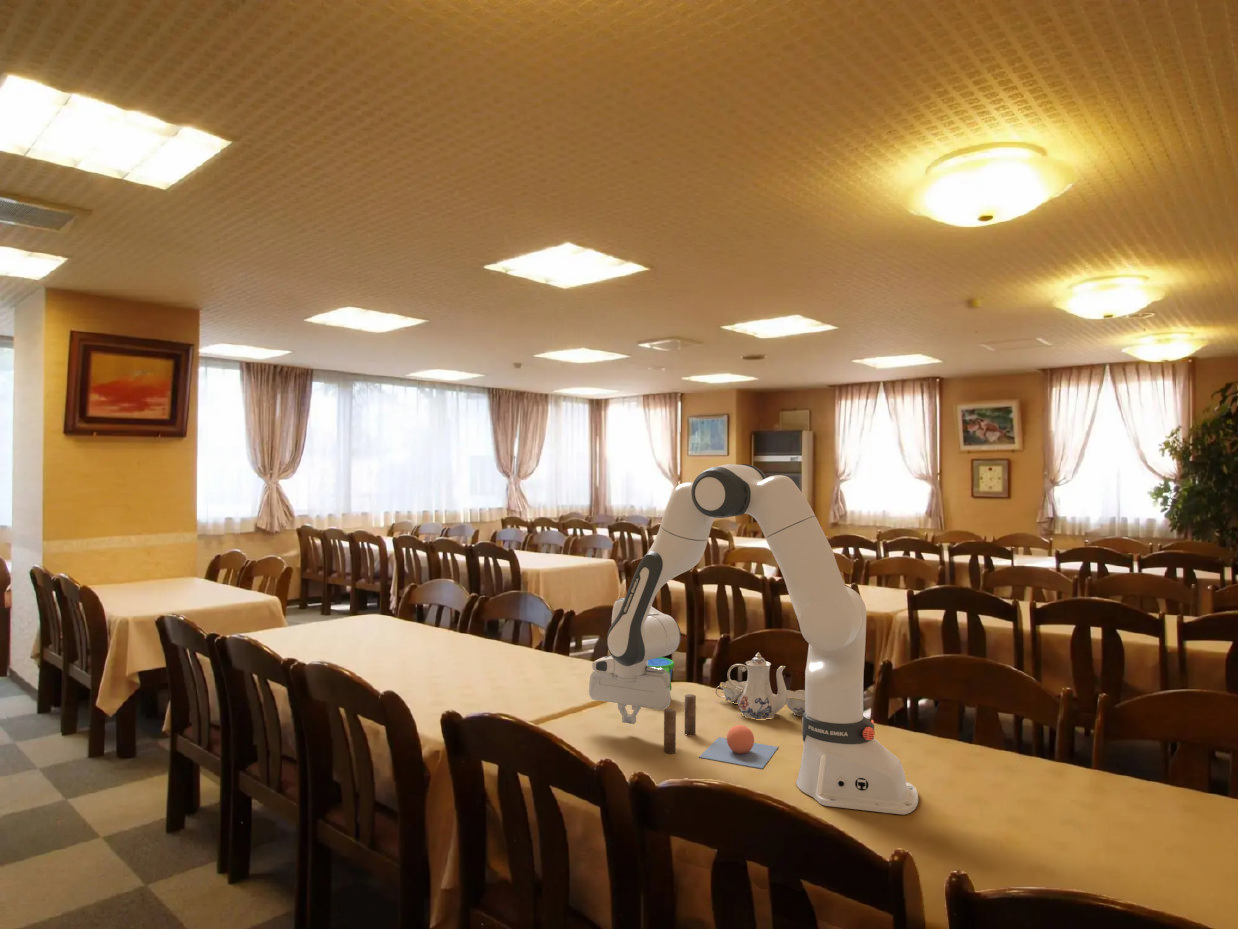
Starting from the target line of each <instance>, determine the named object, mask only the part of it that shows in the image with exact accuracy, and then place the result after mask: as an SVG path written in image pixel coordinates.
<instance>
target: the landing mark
mask: <svg viewBox="0 0 1238 929" xmlns="http://www.w3.org/2000/svg"><path fill="white" fill-rule="evenodd" d="M777 748H778V749H779V746H776V745H769V744H763V743H759V742H758V743H757V742H754V745H753V747H752V749H751V750H750V751H749V752H747V753H744V754H738V753H735V752H734V751H732V750H731V749H730V747H729V746H728V743H727V737H719V736H718V737H717V738H716V739H715V740H714V741H713V742H712V743H711V744H710V745H709V746H708V747H707V748H706V749H705V750H704V751H703V752H702V753H701V754H700V755H699V756H698V758H699V759H703V760H704V759H705V760H710V761H714V762H721V763H726V764H731V765H738V766H743V767H748V768H754V769H760V770H763V769H764V768H765V767H766V765H767V764H768V762H769V761H770V760H771V758H772V757H773V755H774V754H775V753H776V751H777V750H778V749H777Z"/></svg>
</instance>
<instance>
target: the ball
mask: <svg viewBox="0 0 1238 929" xmlns="http://www.w3.org/2000/svg"><path fill="white" fill-rule="evenodd" d="M726 738H727V743H728V746H729V747H730V749H731V750H732V751H734V752H735V753H738V754H744V753H747V752H749V751H750V750H751V749H752V747H753V745H754V743H755V736H754V733H753V732H752V730H751V729H750V728H749V727H747V726H746V725H742V724H737V725H733V727H731V728H730V729H729V730H728V732H727V735H726Z"/></svg>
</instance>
